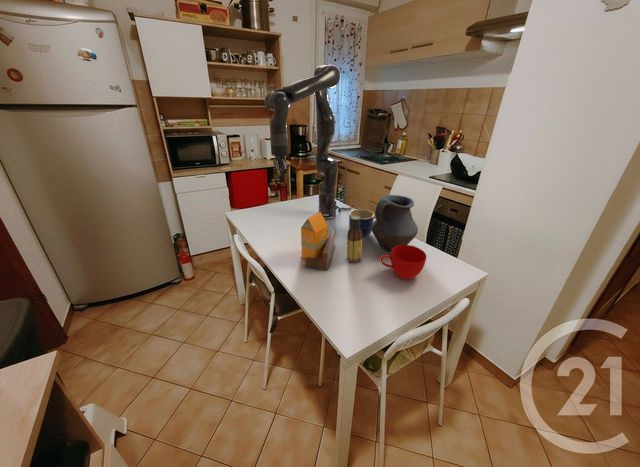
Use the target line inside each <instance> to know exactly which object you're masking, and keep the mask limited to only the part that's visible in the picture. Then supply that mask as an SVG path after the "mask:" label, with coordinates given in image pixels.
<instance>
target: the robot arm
mask: <svg viewBox="0 0 640 467" xmlns="http://www.w3.org/2000/svg"><path fill="white" fill-rule="evenodd" d="M340 72H341V71H340V70H339V68H338V67H337V66H336V65H334V64H326V65H325V64H323V65H318V66H316V67H315V70H314V72H313V76H311V77H308V78H304V79H301V80H297V81H295V82H293V83H290V84H289V85H287V86H285V87H281V88H277V89H274V90H272V91H269V92H268V93H267V94H266V95H265V97H264V102H263V103H264V106H265V107H266V109H267V110H269V111H271V112H274V114H273V117H271V118H270V119H269V132H270V133H269V134H270V135H269V136H270V137H269V142H270V154H271V156H273V157H274V159H273V160H272V163H273V167H274V169H275V172H276V173H277V175H278V182H279V183H280V184H284V183H285V175H287V174H288V170H289V164H287V159H286V156H288V155H289V139H288V138H289V137H288V131H287V130H288V129H287V121H288V116H289V111H290V105H293V104H296V103H298V102H300V101H302V100H304V99H306V98H308V97H310V96H312V95H315V108H316V110H315V111H316V157H315V158H316V159H315V169H316V170H315V171H316V172H317V173H318V174H319V175H321V176H323V181H320V182H318V212H320V211H321V214H322V216H323V218H324V220H332V219H334V218H335V217H337V210H338V212H341V210H351V209H352V208H354V207H355V205H354V204H351V205H350V207H351V208H350V207H339V206H338V205H337V201H336V185H337V183H338V175H339V166H338V165H339V164H338V162H337V160H334V159H331V158H329V149H330V144H331V142H332V140H333V139H334V136H335V133H336V119H335V118H336V116H335V114H334V111H333V109H332V107H331V105H330V102H329V98H328V97H329V96H328V89H333V88H335V87H337V86H338V84H339V82H340V79H341V73H340Z"/></svg>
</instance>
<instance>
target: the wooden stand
mask: <svg viewBox="0 0 640 467" xmlns="http://www.w3.org/2000/svg"><path fill="white" fill-rule="evenodd" d="M335 232H336V231H335V230H329V234H328V235H327V238H328V239H327V242H326V245H325V248H324V250H323V258H322V259H321V258H312V257H306V259H305V268H306V269H313V270H322V271H323V270H325V271H328V268H329V265H330V263H331V262H330V261H331V258H332V255H333V251H334V248H335Z"/></svg>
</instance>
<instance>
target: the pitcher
mask: <svg viewBox="0 0 640 467" xmlns="http://www.w3.org/2000/svg"><path fill="white" fill-rule="evenodd" d="M414 205H415V202H414V199H412V198H410V197H409V196H405V195H398V194H386V195H384V196H382V197H381V198H380V200H378V202H377V204H376V206H375V212H374V217H375V219H374V221H373V224H372V227H371V229H372V231H371V233H372V234H373V236H374V238H375V239H376V242H377V244H378V245H379V247H380V248H382V249H383V250H385V251H387V252H391V251H392V249H393V248H394V247H395V246H398V245H409V244H410V243H411V242H412V241H413V240H414V239H415V238H416V237H417V234H418V232H419V226H418V225H417V223H416V221H415V220H414V218H413V215H412V211H411V208H413V207H414Z"/></svg>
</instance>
